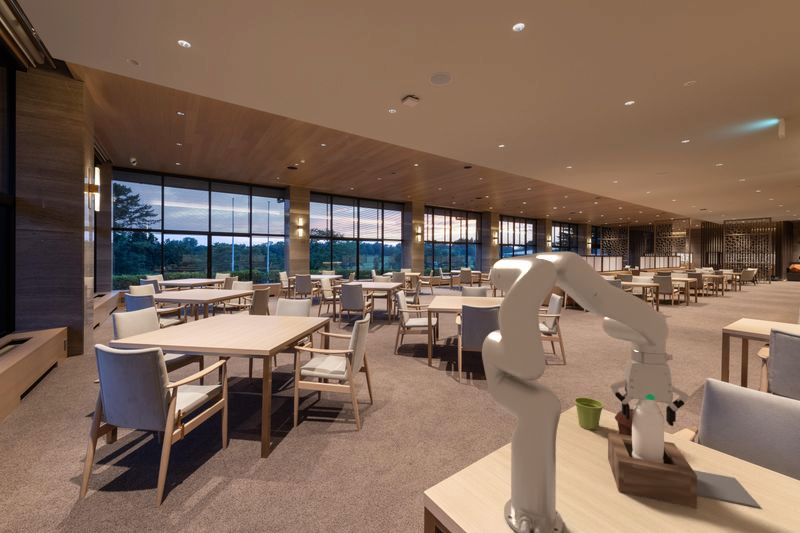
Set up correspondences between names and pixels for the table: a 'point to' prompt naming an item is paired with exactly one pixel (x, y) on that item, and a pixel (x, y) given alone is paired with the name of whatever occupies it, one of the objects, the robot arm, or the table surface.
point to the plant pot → (588, 412)
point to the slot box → (652, 473)
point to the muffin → (624, 423)
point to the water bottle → (648, 430)
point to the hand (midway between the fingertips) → (647, 420)
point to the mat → (723, 489)
